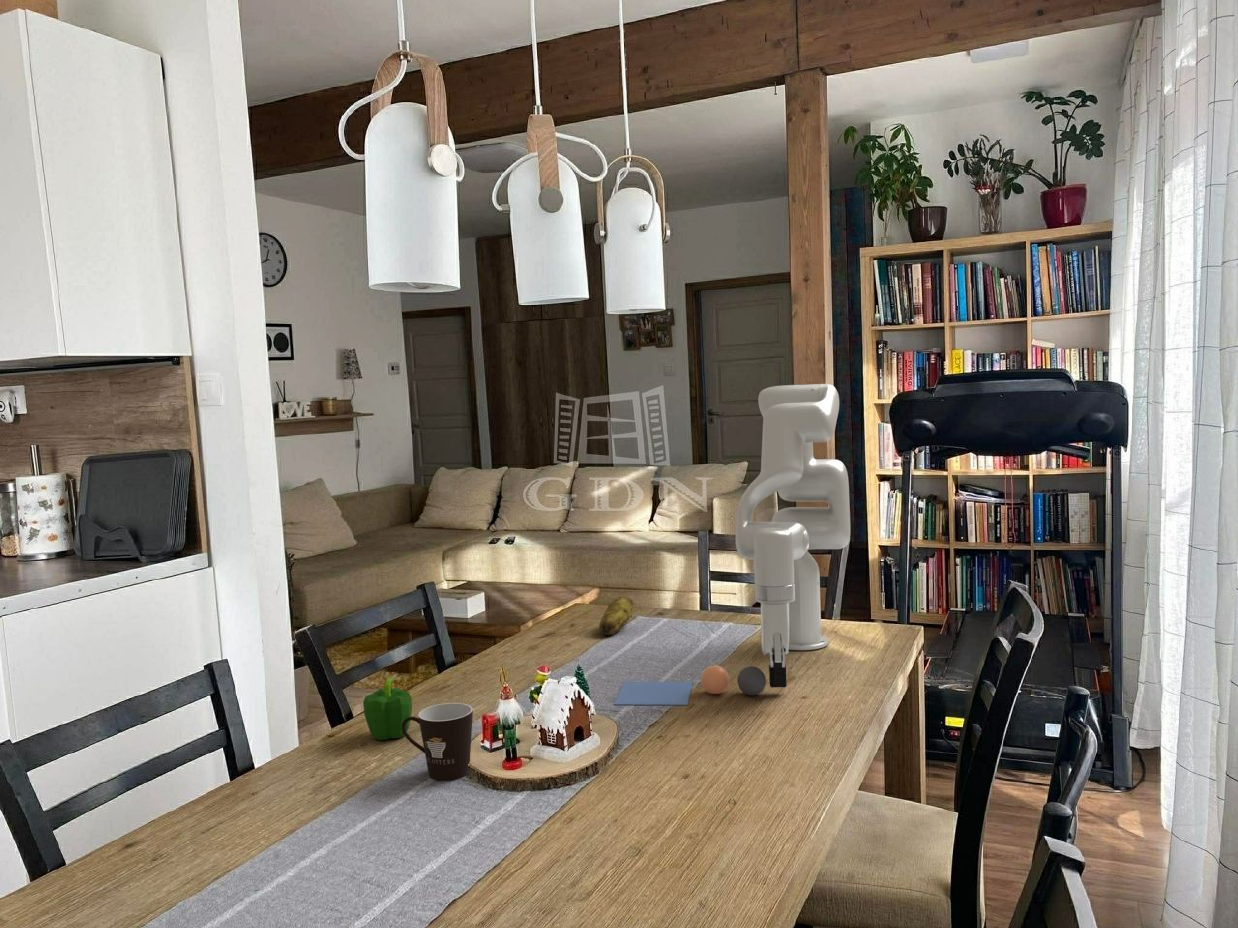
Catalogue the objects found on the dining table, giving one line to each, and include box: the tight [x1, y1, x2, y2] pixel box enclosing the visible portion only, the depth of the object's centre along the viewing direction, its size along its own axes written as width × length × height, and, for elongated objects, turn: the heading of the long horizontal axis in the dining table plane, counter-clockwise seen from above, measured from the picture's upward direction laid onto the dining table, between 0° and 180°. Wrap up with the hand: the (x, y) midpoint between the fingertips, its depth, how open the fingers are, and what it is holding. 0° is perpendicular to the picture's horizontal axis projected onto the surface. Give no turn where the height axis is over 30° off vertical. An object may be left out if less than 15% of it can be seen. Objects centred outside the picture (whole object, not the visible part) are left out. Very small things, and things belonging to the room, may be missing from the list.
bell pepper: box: [362, 677, 413, 741], centre depth 167 cm, size 8×8×10 cm
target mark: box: [614, 681, 693, 706], centre depth 185 cm, size 14×14×1 cm
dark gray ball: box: [736, 666, 767, 696], centre depth 181 cm, size 6×6×6 cm
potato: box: [598, 596, 635, 636], centre depth 235 cm, size 8×13×8 cm, turn 137°
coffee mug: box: [402, 702, 474, 782], centre depth 150 cm, size 12×9×10 cm
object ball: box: [700, 665, 730, 695], centre depth 183 cm, size 6×6×6 cm
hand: (778, 685), depth 181 cm, fingers closed
